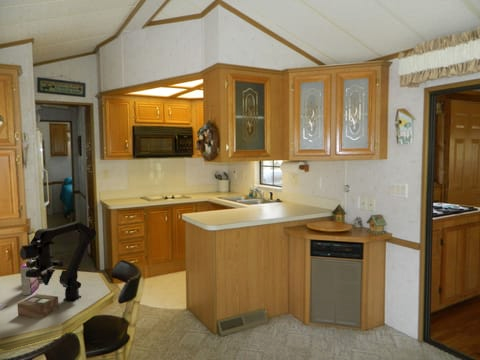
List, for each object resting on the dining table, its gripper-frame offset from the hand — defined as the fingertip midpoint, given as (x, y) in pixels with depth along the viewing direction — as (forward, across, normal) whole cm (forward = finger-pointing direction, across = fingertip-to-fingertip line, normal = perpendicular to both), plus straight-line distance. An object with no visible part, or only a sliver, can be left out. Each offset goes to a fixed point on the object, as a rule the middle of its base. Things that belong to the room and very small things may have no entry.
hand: (46, 285), depth 188 cm
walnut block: (+12, +4, -1) cm, 13 cm away
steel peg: (+12, +4, -4) cm, 14 cm away
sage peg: (+12, +4, +2) cm, 13 cm away
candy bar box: (+12, -15, -26) cm, 32 cm away
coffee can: (+12, -33, -35) cm, 50 cm away
